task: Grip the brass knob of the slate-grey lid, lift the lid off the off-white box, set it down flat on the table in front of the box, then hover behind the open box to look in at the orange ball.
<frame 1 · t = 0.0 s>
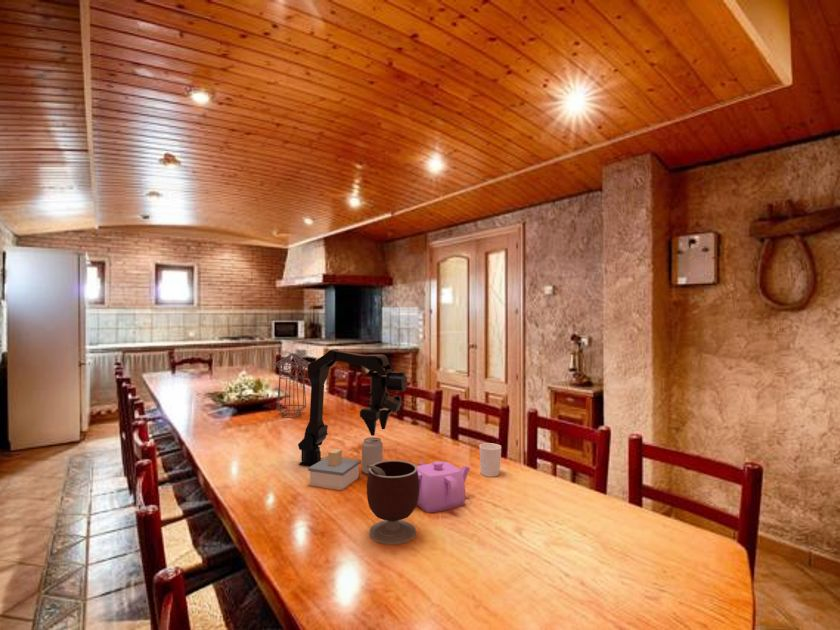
hand: (378, 432, 163), 15 cm above the table, fingers open, 9 cm apart
geometric lantern: (292, 416, 250), on the table
box: (334, 481, 154), on the table
ball: (334, 473, 154), point 3 cm above the table, touching box
can: (372, 472, 164), on the table
white cup: (490, 474, 163), on the table
mate gourd: (390, 534, 118), on the table
teakettle: (438, 501, 139), on the table
lid: (334, 466, 154), point 5 cm above the table, touching box
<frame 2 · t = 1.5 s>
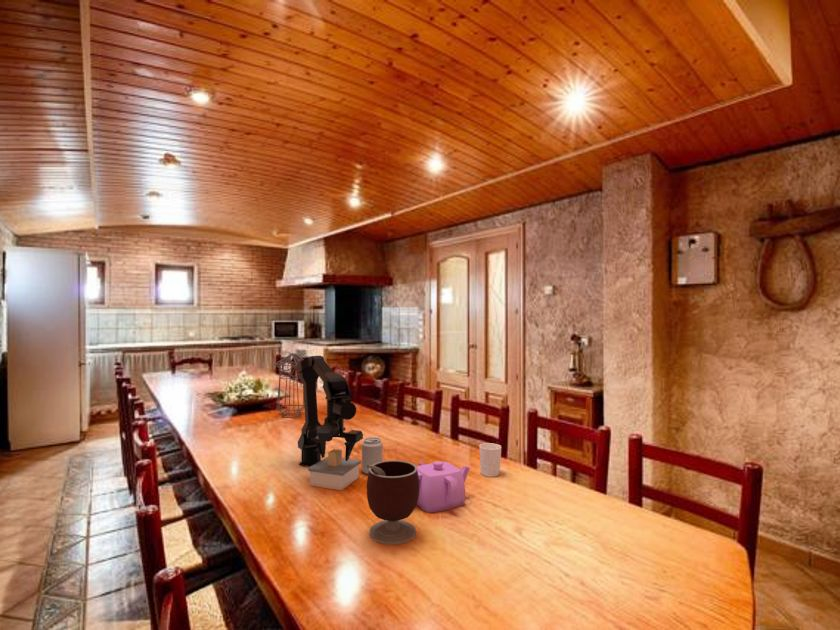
hand: (334, 459, 154), 8 cm above the table, fingers open, 9 cm apart
nothing on the table moved.
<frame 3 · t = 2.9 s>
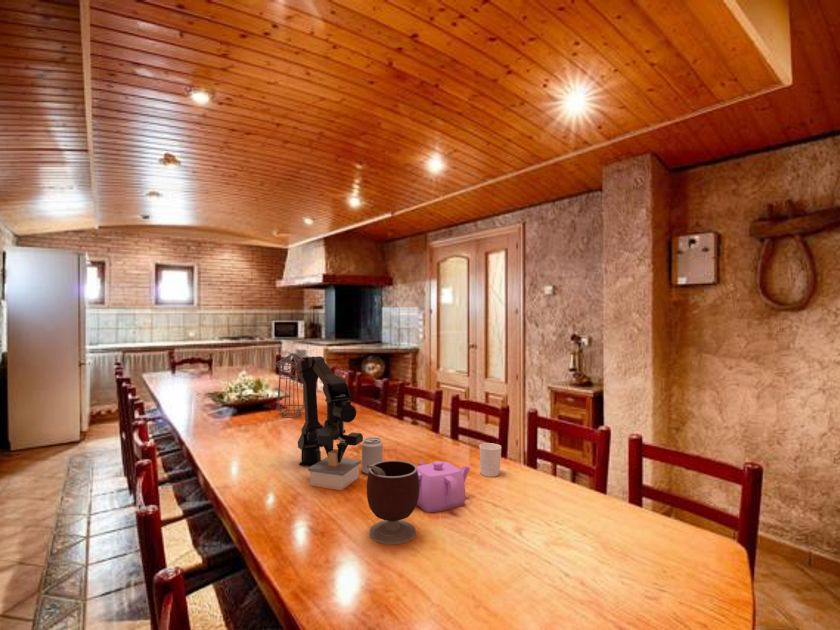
hand: (335, 461, 154), 7 cm above the table, fingers closed on lid, 3 cm apart
lid: (334, 466, 154), point 5 cm above the table, touching box, gripper
everything else where it was.
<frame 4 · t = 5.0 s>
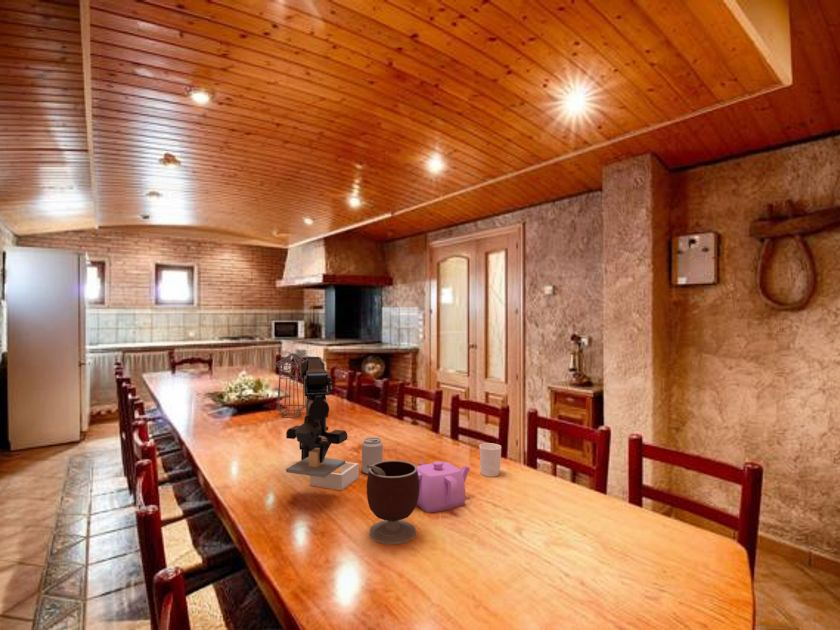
hand: (316, 462, 139), 12 cm above the table, fingers closed on lid, 3 cm apart
lid: (316, 467, 139), point 10 cm above the table, touching gripper
everything else where it was.
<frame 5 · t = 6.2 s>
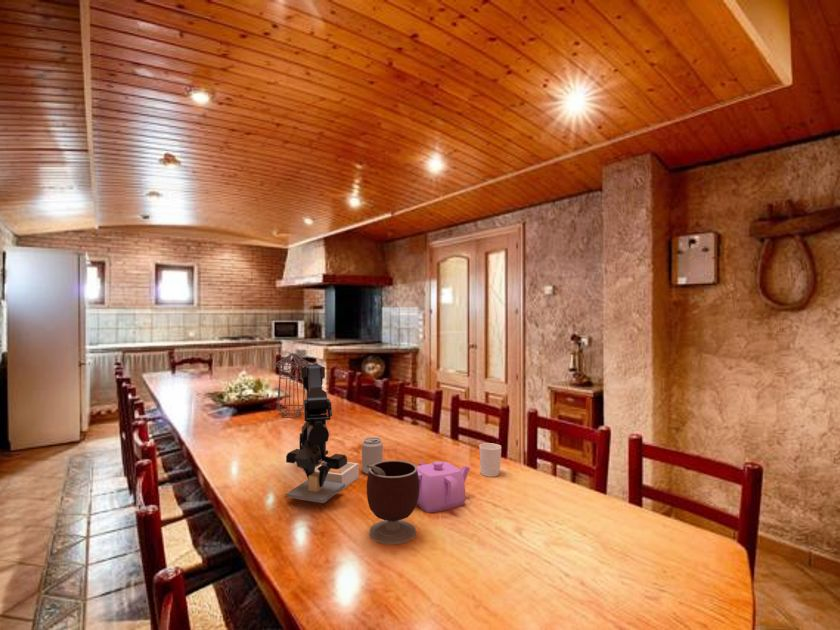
hand: (316, 486, 139), 4 cm above the table, fingers closed on lid, 3 cm apart
lid: (316, 491, 139), point 2 cm above the table, touching gripper
everything else where it was.
when the fingers open (3 cm above the table, at t = 7.1 s): lid drops 2 cm, on the table.
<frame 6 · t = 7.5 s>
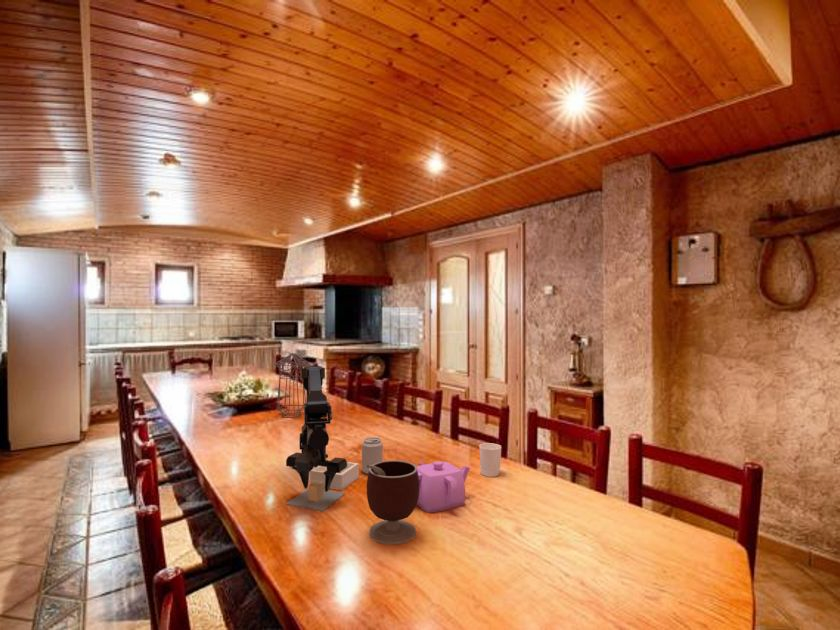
hand: (316, 489, 139), 3 cm above the table, fingers open, 7 cm apart
lid: (316, 501, 139), on the table
everything else where it was.
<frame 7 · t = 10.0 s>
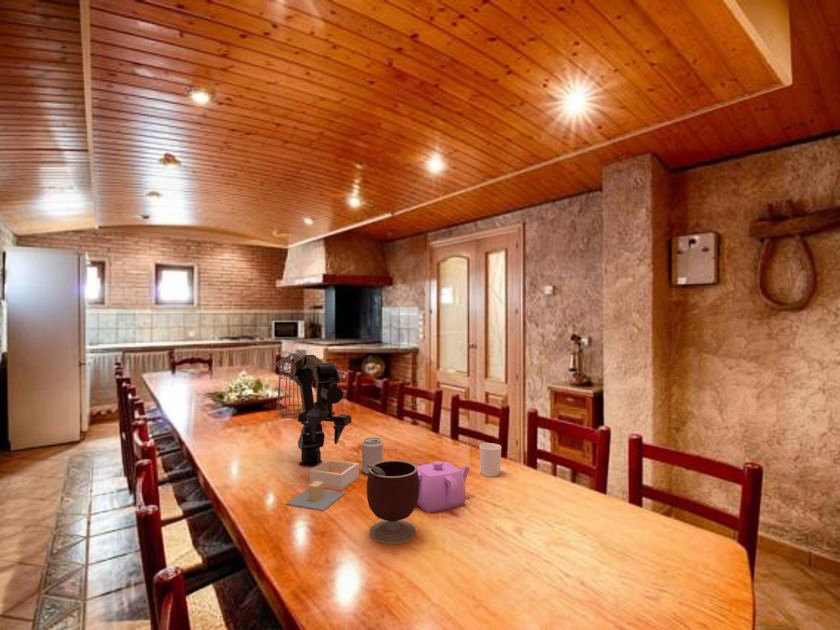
hand: (324, 442, 159), 12 cm above the table, fingers open, 9 cm apart
nothing on the table moved.
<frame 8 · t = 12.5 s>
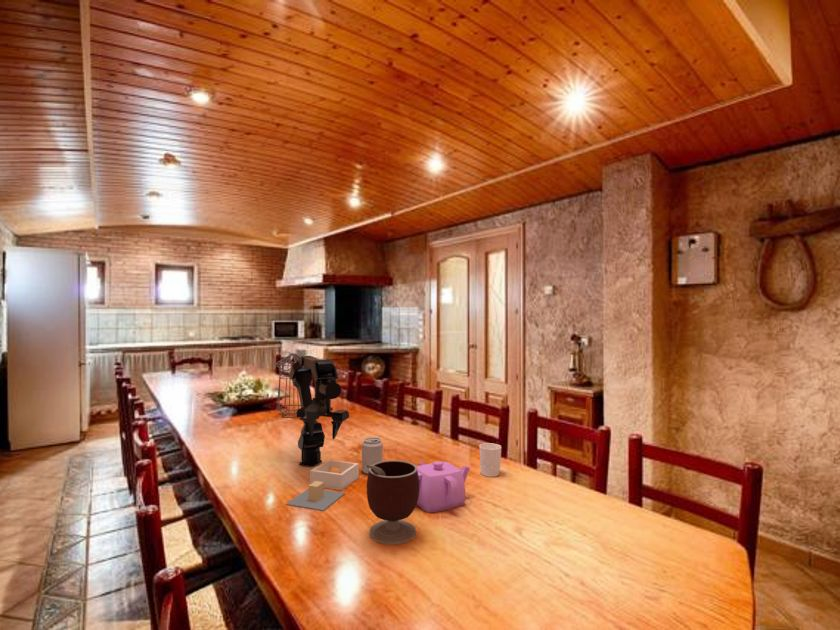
hand: (322, 437, 161), 13 cm above the table, fingers open, 9 cm apart
nothing on the table moved.
at the end: lid inside the target area (0.1 cm from its centre), on the table; lid touching table; lid tilted 0° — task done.
